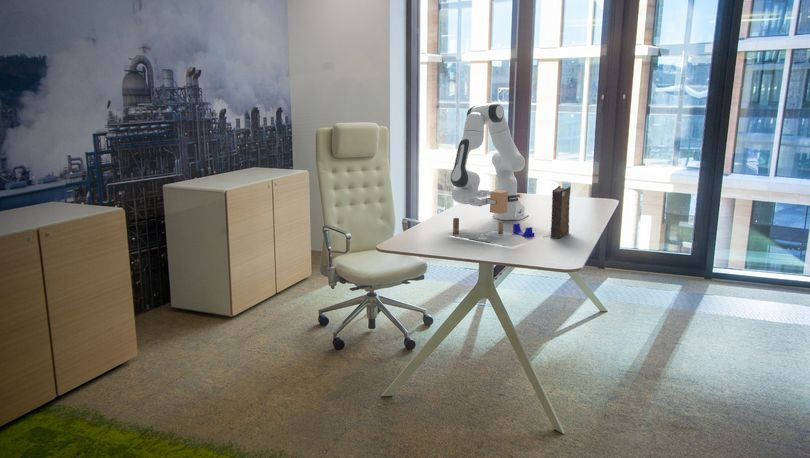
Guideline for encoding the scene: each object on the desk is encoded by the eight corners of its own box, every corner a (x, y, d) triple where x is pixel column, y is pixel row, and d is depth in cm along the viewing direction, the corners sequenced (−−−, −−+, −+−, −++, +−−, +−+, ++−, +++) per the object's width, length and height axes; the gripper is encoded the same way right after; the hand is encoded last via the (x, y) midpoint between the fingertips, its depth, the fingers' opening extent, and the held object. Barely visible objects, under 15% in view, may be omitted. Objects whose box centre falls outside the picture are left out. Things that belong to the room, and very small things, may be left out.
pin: (455, 234, 337) (455, 217, 335) (459, 235, 335) (460, 218, 333) (451, 235, 335) (452, 218, 333) (456, 236, 333) (456, 219, 331)
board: (494, 232, 341) (494, 219, 340) (513, 235, 333) (513, 222, 332) (469, 239, 325) (469, 226, 324) (488, 243, 318) (489, 229, 316)
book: (558, 239, 325) (561, 190, 320) (545, 237, 329) (547, 189, 324) (570, 233, 339) (572, 186, 333) (557, 231, 343) (559, 185, 337)
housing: (496, 210, 338) (497, 190, 336) (507, 212, 334) (507, 191, 332) (489, 212, 333) (490, 191, 331) (500, 213, 329) (500, 192, 327)
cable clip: (534, 238, 328) (534, 227, 326) (527, 239, 326) (527, 228, 324) (519, 233, 338) (520, 222, 337) (513, 234, 336) (513, 223, 335)
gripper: (466, 194, 333) (488, 197, 324) (489, 189, 347) (511, 192, 338) (466, 206, 334) (488, 209, 325) (489, 201, 349) (510, 204, 340)
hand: (500, 201), depth 332 cm, fingers closed on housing, 6 cm apart
